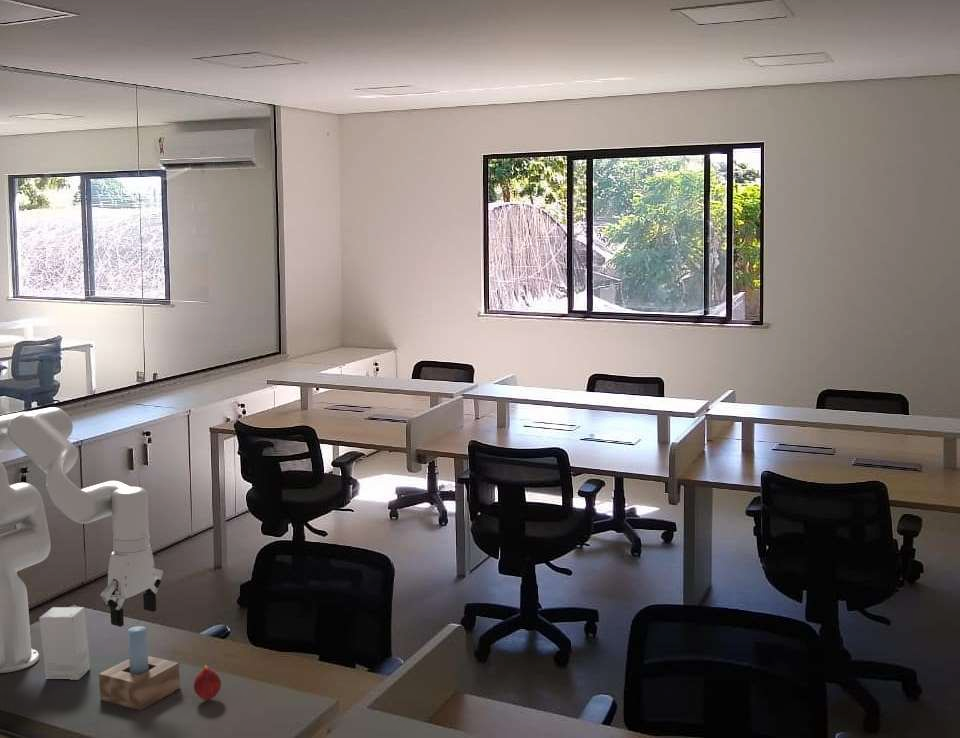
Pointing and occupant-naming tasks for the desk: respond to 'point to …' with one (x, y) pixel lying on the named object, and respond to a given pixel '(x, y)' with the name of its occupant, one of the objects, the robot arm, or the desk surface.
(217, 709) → the desk surface
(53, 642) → the skincare box
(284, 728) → the desk surface
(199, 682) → the onion
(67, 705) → the desk surface
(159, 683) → the bore block
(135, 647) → the pin
